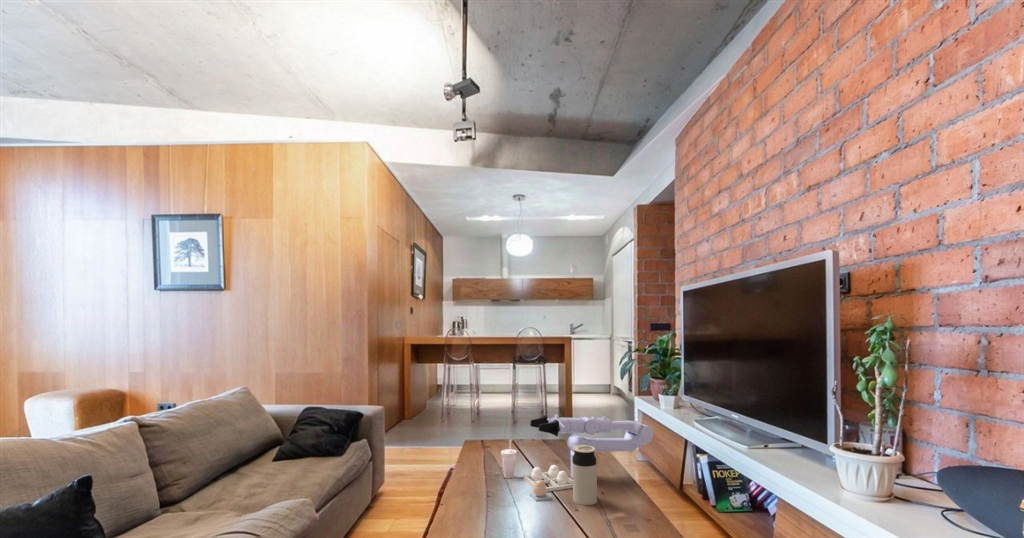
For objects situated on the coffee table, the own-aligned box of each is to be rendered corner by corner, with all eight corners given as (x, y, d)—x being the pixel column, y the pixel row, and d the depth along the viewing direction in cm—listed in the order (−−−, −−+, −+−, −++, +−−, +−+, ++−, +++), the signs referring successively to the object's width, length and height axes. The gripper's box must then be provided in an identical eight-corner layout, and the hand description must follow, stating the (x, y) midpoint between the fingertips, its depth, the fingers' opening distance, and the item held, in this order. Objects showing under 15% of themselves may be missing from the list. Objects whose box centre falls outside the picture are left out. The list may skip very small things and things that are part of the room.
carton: (558, 476, 179) (558, 470, 179) (577, 489, 165) (577, 483, 165) (523, 481, 174) (523, 475, 174) (539, 495, 160) (539, 489, 160)
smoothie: (515, 480, 175) (515, 442, 176) (499, 479, 176) (499, 441, 177) (518, 474, 181) (518, 438, 182) (502, 473, 182) (502, 437, 184)
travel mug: (601, 503, 153) (600, 447, 155) (588, 510, 148) (586, 453, 149) (582, 496, 159) (581, 443, 161) (568, 503, 153) (567, 448, 155)
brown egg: (543, 493, 159) (543, 477, 160) (549, 498, 155) (548, 481, 155) (531, 495, 157) (531, 479, 158) (536, 500, 153) (536, 483, 154)
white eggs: (556, 476, 177) (556, 462, 177) (571, 487, 166) (571, 472, 167) (529, 480, 173) (529, 466, 173) (542, 491, 162) (541, 476, 162)
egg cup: (544, 495, 160) (544, 490, 160) (551, 502, 154) (551, 497, 154) (528, 498, 158) (528, 493, 158) (535, 504, 152) (535, 499, 152)
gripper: (559, 411, 184) (528, 410, 179) (576, 418, 170) (543, 418, 165) (557, 429, 183) (526, 429, 178) (575, 438, 169) (542, 438, 165)
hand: (534, 425), depth 172 cm, fingers open, 7 cm apart
